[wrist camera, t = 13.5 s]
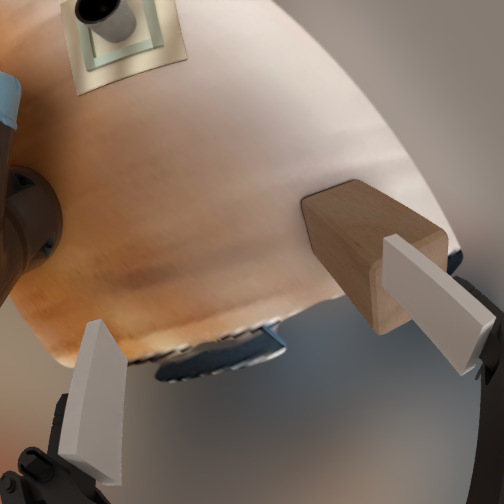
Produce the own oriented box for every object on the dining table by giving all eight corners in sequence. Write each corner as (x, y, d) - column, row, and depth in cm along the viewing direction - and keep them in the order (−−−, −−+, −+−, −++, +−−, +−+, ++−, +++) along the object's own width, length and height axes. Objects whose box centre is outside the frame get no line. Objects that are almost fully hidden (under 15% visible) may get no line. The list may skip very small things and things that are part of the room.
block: (297, 197, 43) (373, 270, 26) (357, 176, 43) (452, 230, 26) (312, 255, 48) (377, 341, 31) (366, 232, 48) (445, 302, 31)
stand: (79, 95, 30) (73, 95, 28) (62, 5, 23) (56, 1, 21) (186, 59, 31) (187, 56, 29) (167, -31, 24) (166, -38, 22)
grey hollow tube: (98, 44, 27) (70, 27, 18) (103, 12, 25) (78, -14, 16) (134, 41, 28) (116, 21, 19) (139, 9, 26) (125, -20, 17)
